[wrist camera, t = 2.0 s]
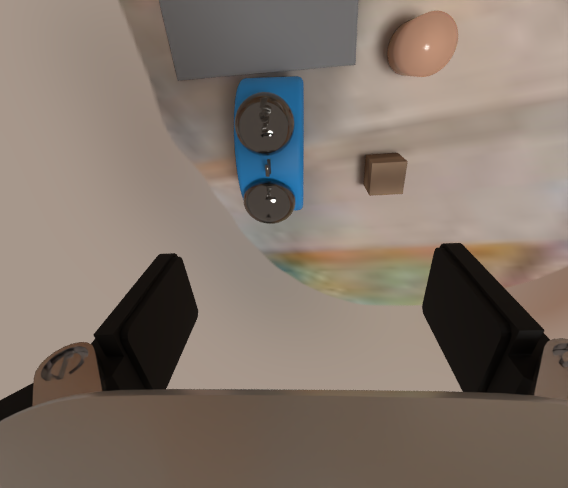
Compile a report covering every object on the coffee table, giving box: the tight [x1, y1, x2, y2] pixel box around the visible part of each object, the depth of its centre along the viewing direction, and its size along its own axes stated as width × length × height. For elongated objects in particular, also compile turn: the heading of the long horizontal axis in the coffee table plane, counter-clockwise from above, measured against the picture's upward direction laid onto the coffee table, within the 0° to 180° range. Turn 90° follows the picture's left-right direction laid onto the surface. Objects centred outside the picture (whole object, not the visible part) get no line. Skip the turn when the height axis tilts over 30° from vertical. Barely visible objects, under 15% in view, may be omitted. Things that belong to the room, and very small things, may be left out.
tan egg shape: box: [387, 11, 458, 77], centre depth 28 cm, size 5×5×5 cm
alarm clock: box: [234, 76, 304, 224], centre depth 29 cm, size 13×6×15 cm, turn 2°
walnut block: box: [364, 153, 407, 196], centre depth 36 cm, size 4×4×4 cm
